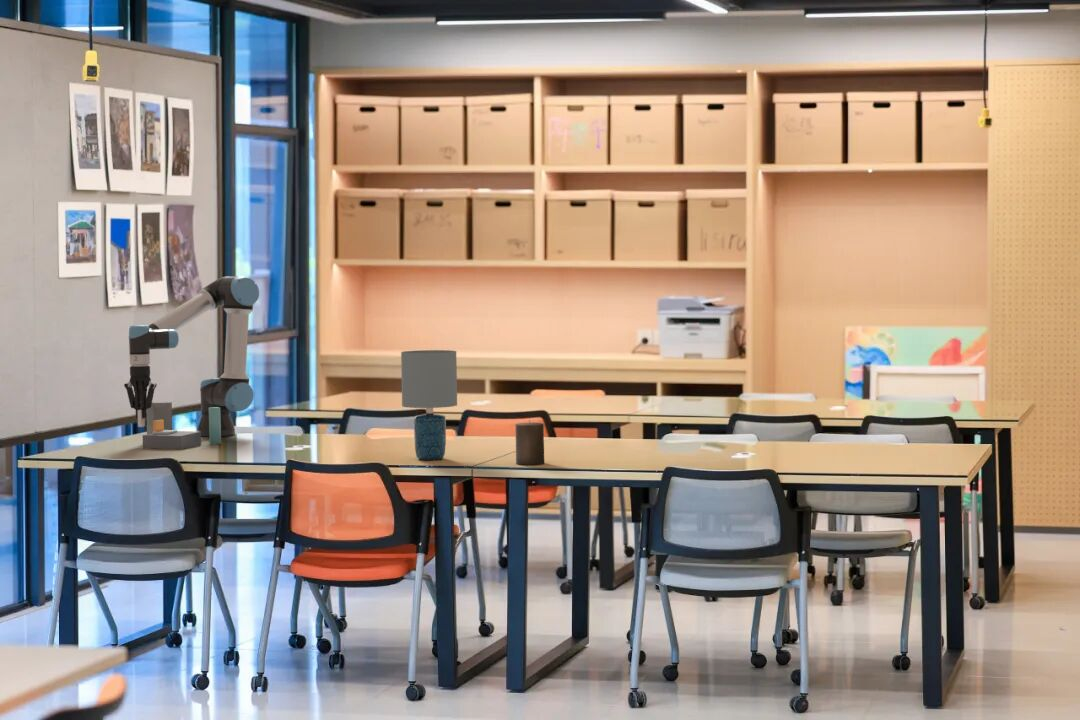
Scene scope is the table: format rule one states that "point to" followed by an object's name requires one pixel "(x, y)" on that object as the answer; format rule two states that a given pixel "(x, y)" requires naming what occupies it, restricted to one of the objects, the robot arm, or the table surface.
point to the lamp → (429, 396)
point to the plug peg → (214, 425)
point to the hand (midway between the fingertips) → (141, 426)
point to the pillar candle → (529, 443)
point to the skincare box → (159, 415)
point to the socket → (172, 440)
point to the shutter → (161, 428)
